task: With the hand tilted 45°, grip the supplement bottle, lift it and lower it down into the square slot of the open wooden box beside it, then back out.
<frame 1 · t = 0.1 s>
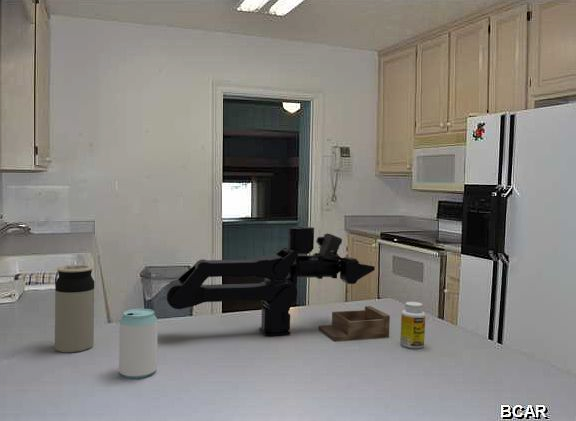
hand: (366, 265, 134), 17 cm above the worktop, tool horizontal, fingers open, 9 cm apart
supplement bottle: (412, 346, 119), on the worktop
open wooden box: (358, 332, 128), on the worktop
can: (138, 373, 97), on the worktop
travel mug: (74, 348, 111), on the worktop
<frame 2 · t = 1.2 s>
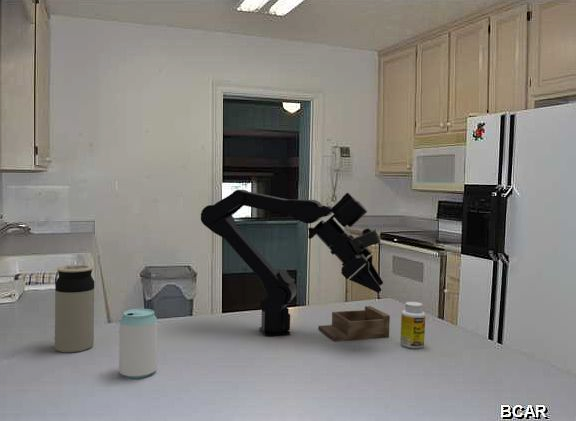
hand: (381, 287, 120), 13 cm above the worktop, tool tilted 45°, fingers open, 9 cm apart
nothing on the worktop moved.
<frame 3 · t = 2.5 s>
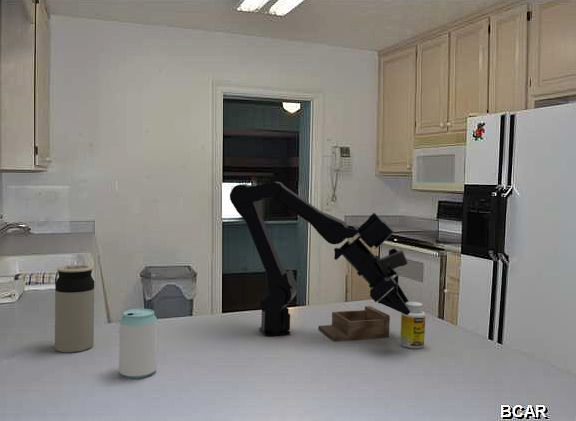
hand: (408, 309, 119), 9 cm above the worktop, tool tilted 45°, fingers open, 9 cm apart
nothing on the worktop moved.
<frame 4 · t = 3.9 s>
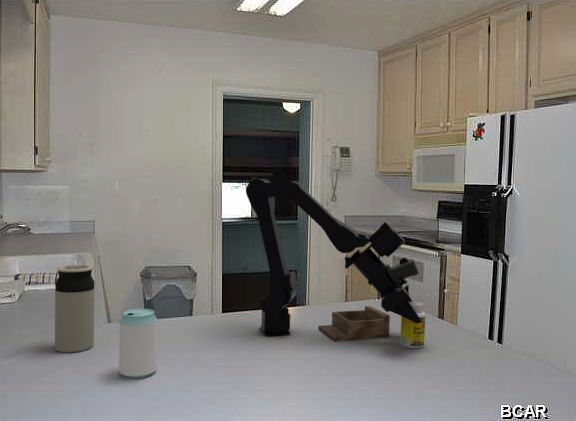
hand: (419, 319, 118), 7 cm above the worktop, tool tilted 45°, fingers closed on supplement bottle, 6 cm apart
supplement bottle: (412, 346, 119), on the worktop, touching gripper
everything else where it was.
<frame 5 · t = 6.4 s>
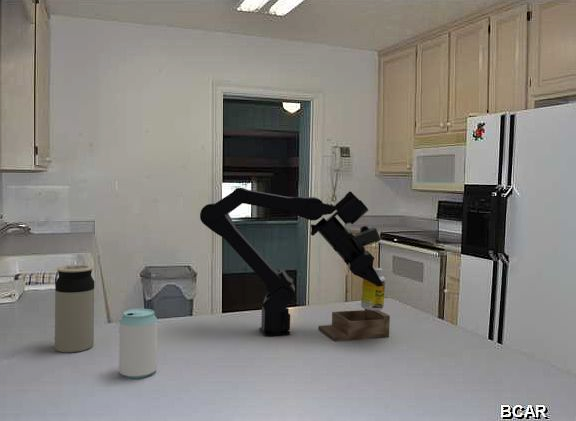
hand: (379, 283, 126), 14 cm above the worktop, tool tilted 45°, fingers closed on supplement bottle, 6 cm apart
supplement bottle: (372, 309, 126), point 7 cm above the worktop, touching gripper
everything else where it was.
when the fingers open (9 cm above the worktop, at t = 8.7 s): supplement bottle drops 1 cm, resting on open wooden box.
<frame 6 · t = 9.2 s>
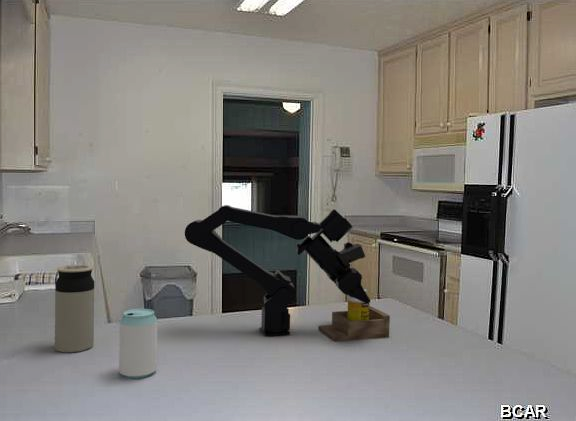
hand: (364, 298, 128), 9 cm above the worktop, tool tilted 45°, fingers open, 9 cm apart
supplement bottle: (357, 329, 128), point 1 cm above the worktop, touching open wooden box
everything else where it was.
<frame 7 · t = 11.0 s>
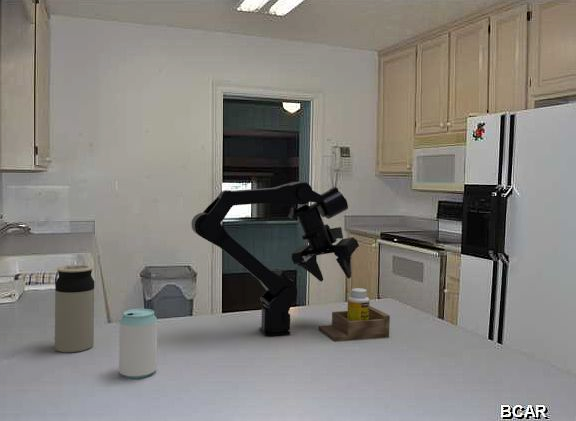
hand: (335, 279, 132), 13 cm above the worktop, tool tilted 25°, fingers open, 9 cm apart
nothing on the worktop moved.
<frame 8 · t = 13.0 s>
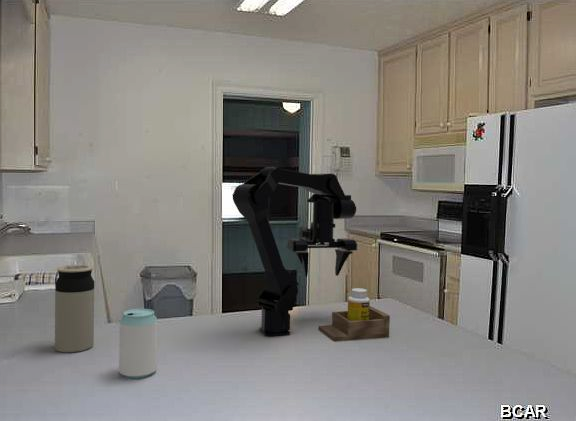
hand: (321, 275, 137), 13 cm above the worktop, tool pointing down, fingers open, 9 cm apart
nothing on the worktop moved.
at the end: supplement bottle 0.2 cm off-centre on the open wooden box, point 0.8 cm above the open wooden box's base; supplement bottle tilted 0°; the gripper is holding nothing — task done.
